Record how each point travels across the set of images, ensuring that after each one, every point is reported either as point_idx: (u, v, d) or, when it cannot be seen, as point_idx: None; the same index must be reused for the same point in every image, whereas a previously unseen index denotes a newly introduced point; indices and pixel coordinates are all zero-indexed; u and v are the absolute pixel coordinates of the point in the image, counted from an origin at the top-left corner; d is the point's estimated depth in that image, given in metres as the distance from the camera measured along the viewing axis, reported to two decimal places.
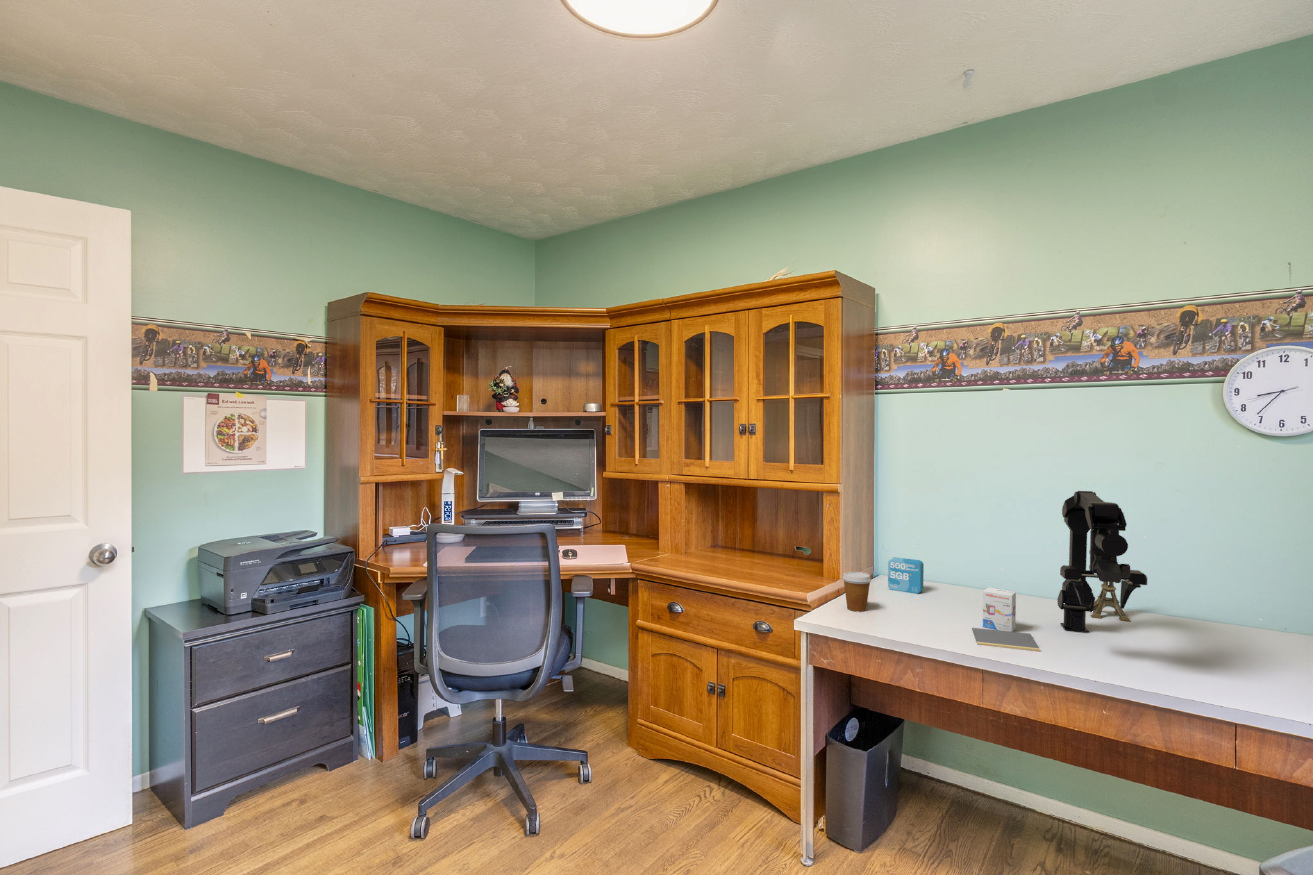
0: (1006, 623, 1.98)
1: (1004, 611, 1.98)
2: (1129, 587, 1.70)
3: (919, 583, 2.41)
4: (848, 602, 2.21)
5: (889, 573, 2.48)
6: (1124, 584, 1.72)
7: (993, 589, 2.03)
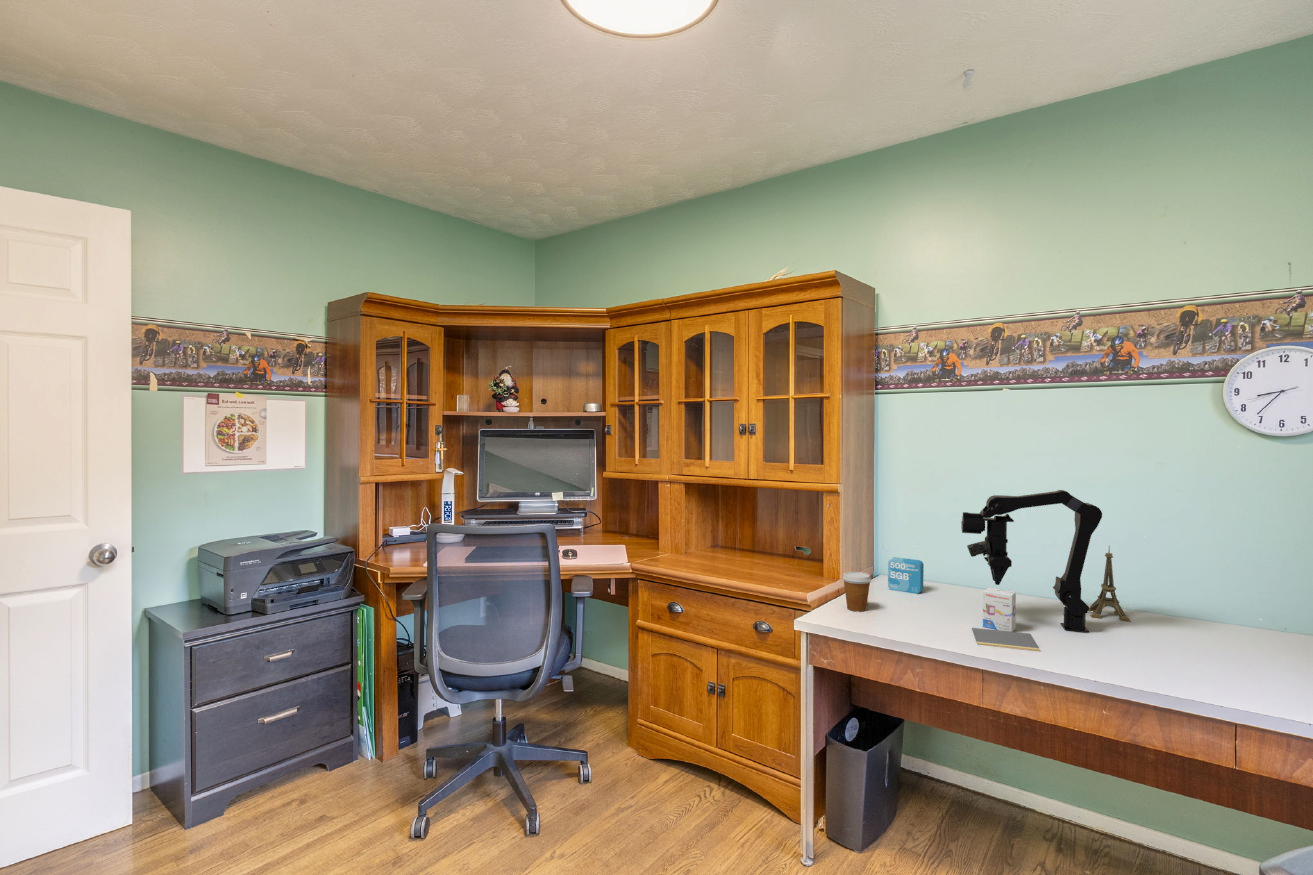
0: (1006, 623, 1.98)
1: (1004, 611, 1.98)
2: None
3: (919, 583, 2.41)
4: (848, 602, 2.21)
5: (889, 573, 2.47)
6: None
7: (993, 589, 2.03)
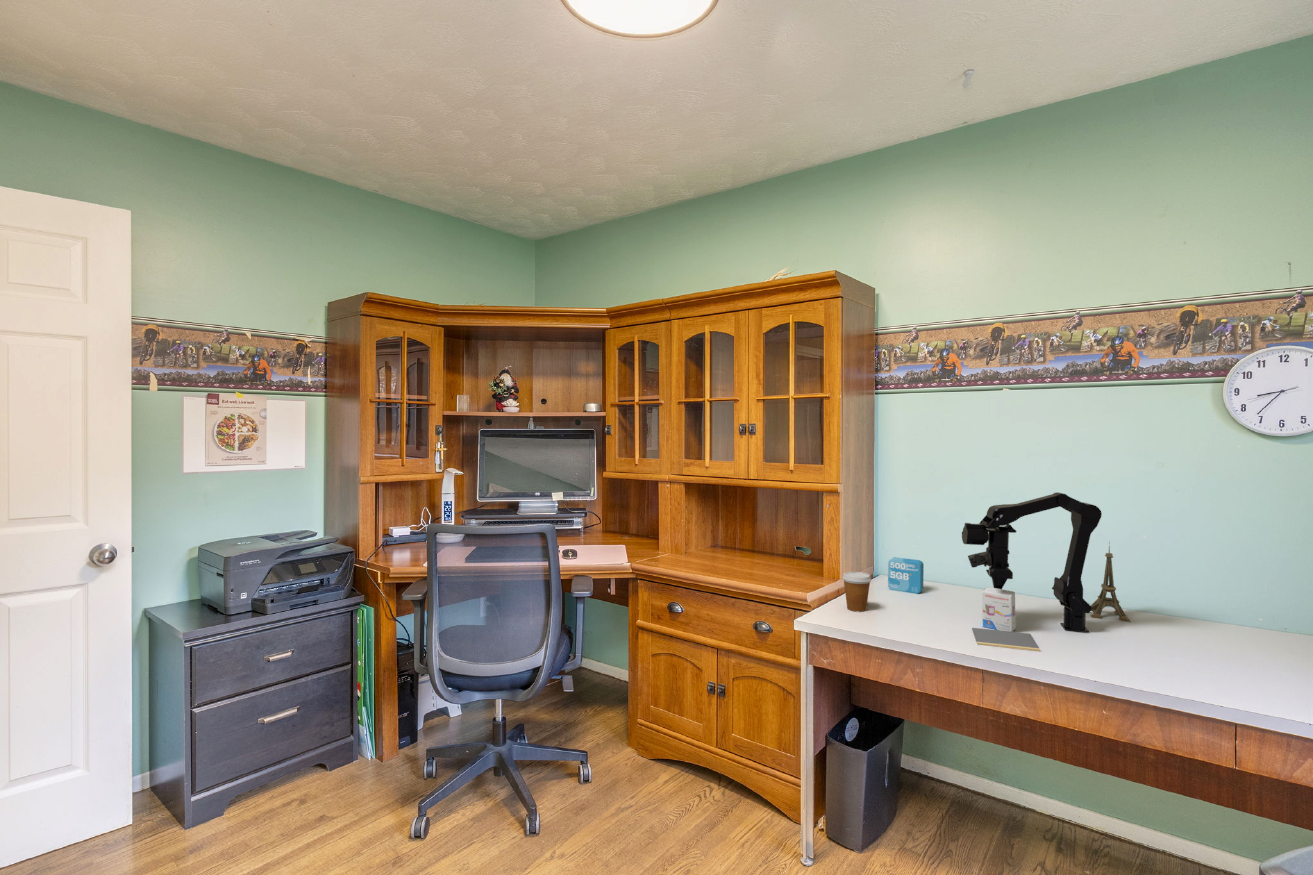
0: (1006, 623, 1.98)
1: (1004, 612, 1.98)
2: (988, 574, 2.04)
3: (919, 583, 2.41)
4: (848, 602, 2.21)
5: (889, 573, 2.48)
6: None
7: (992, 589, 2.02)
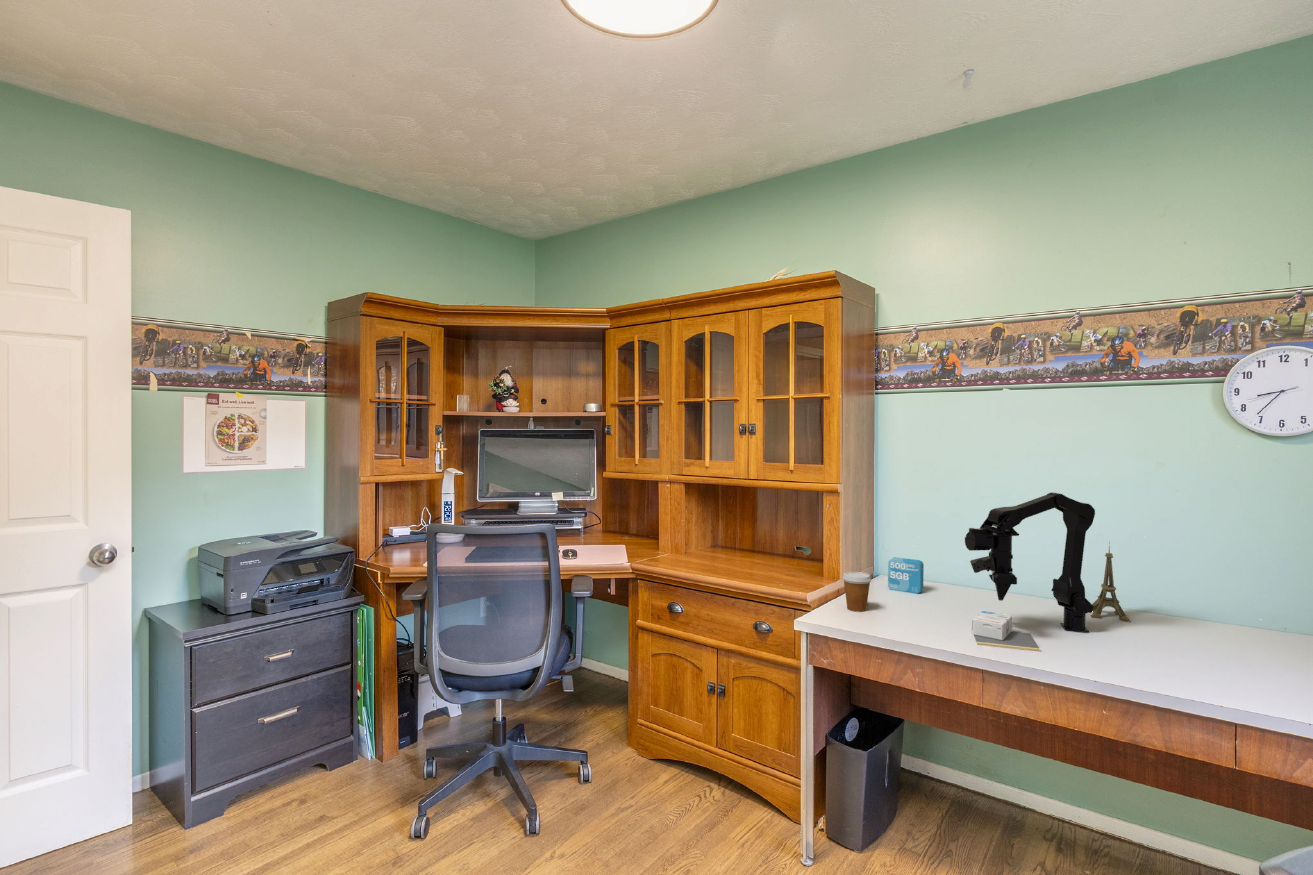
0: None
1: None
2: None
3: (919, 583, 2.41)
4: (848, 602, 2.21)
5: (889, 573, 2.48)
6: None
7: (980, 625, 1.92)
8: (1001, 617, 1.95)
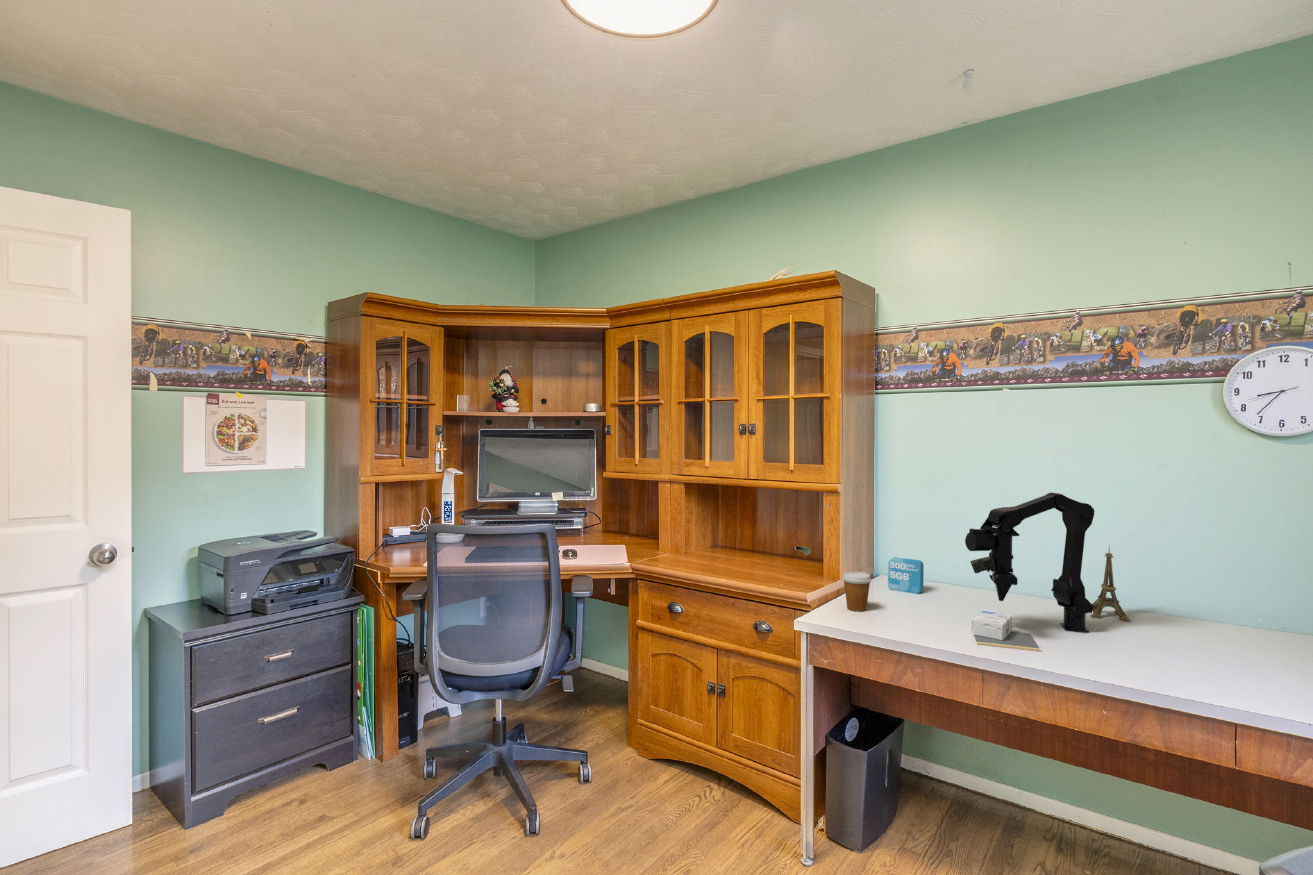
0: None
1: None
2: None
3: (919, 583, 2.41)
4: (848, 602, 2.21)
5: (889, 573, 2.47)
6: None
7: (980, 625, 1.92)
8: (1001, 617, 1.95)
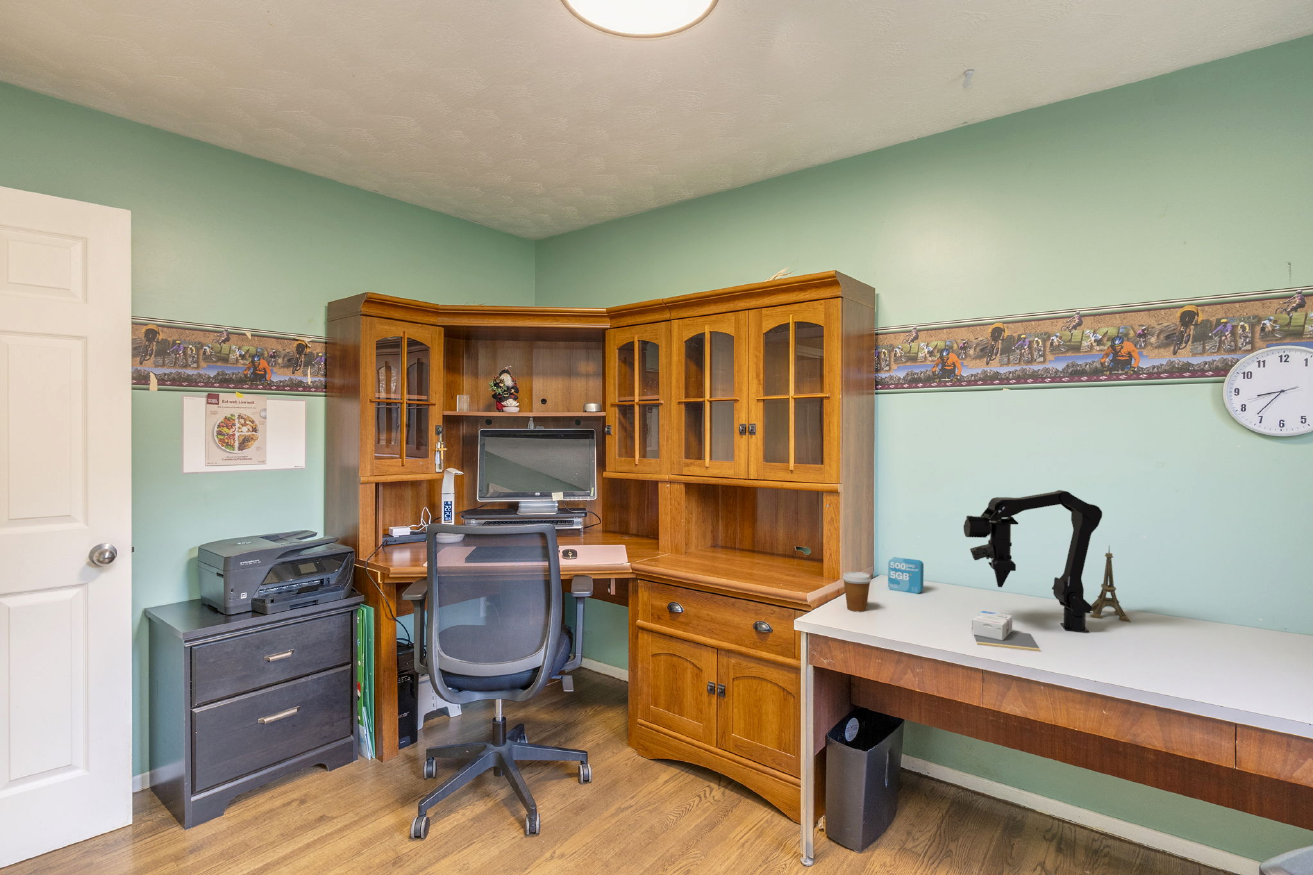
0: None
1: None
2: None
3: (919, 583, 2.41)
4: (848, 602, 2.21)
5: (889, 573, 2.47)
6: None
7: (980, 625, 1.92)
8: (1001, 617, 1.95)
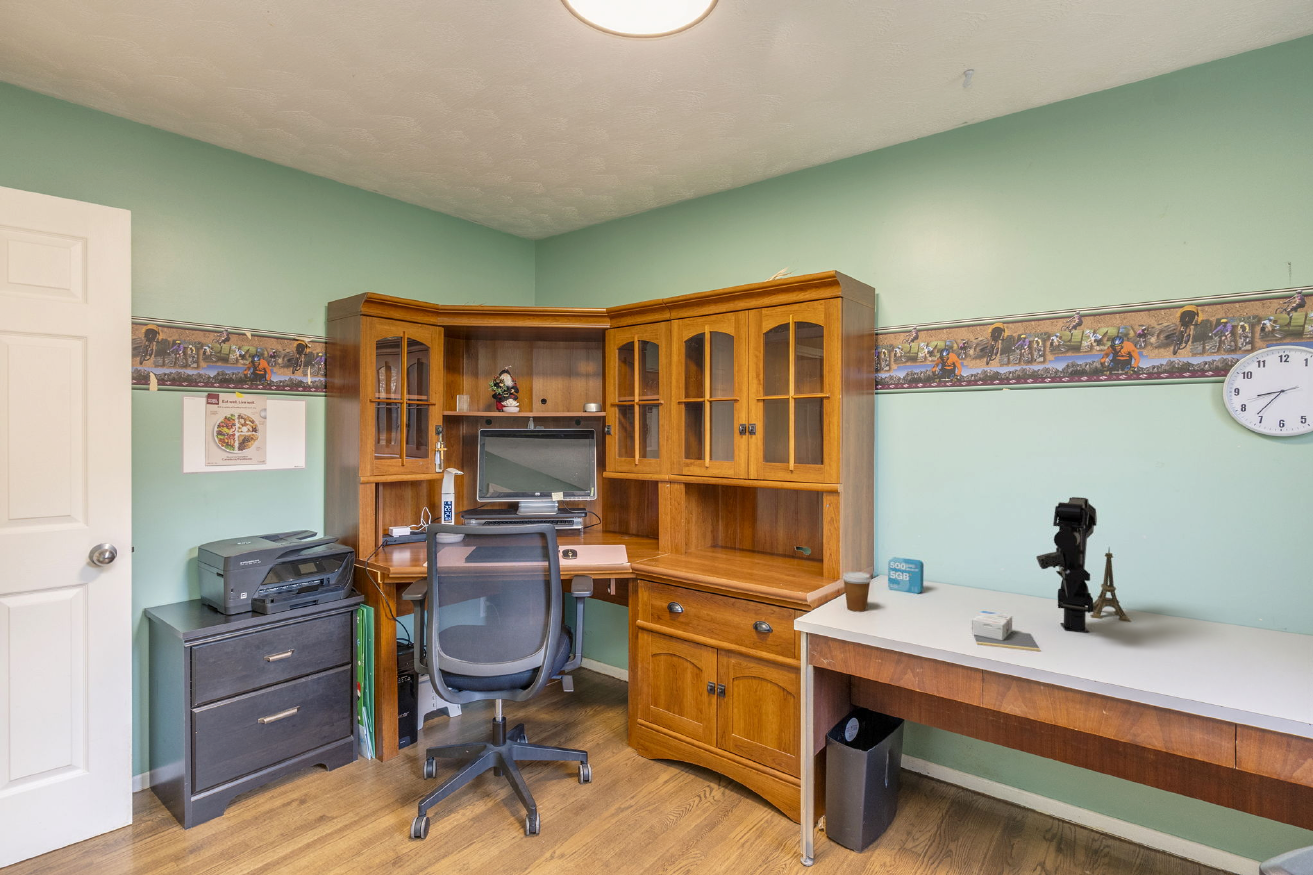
0: None
1: None
2: None
3: (919, 583, 2.41)
4: (848, 602, 2.21)
5: (889, 573, 2.47)
6: None
7: (980, 625, 1.92)
8: (1001, 617, 1.95)
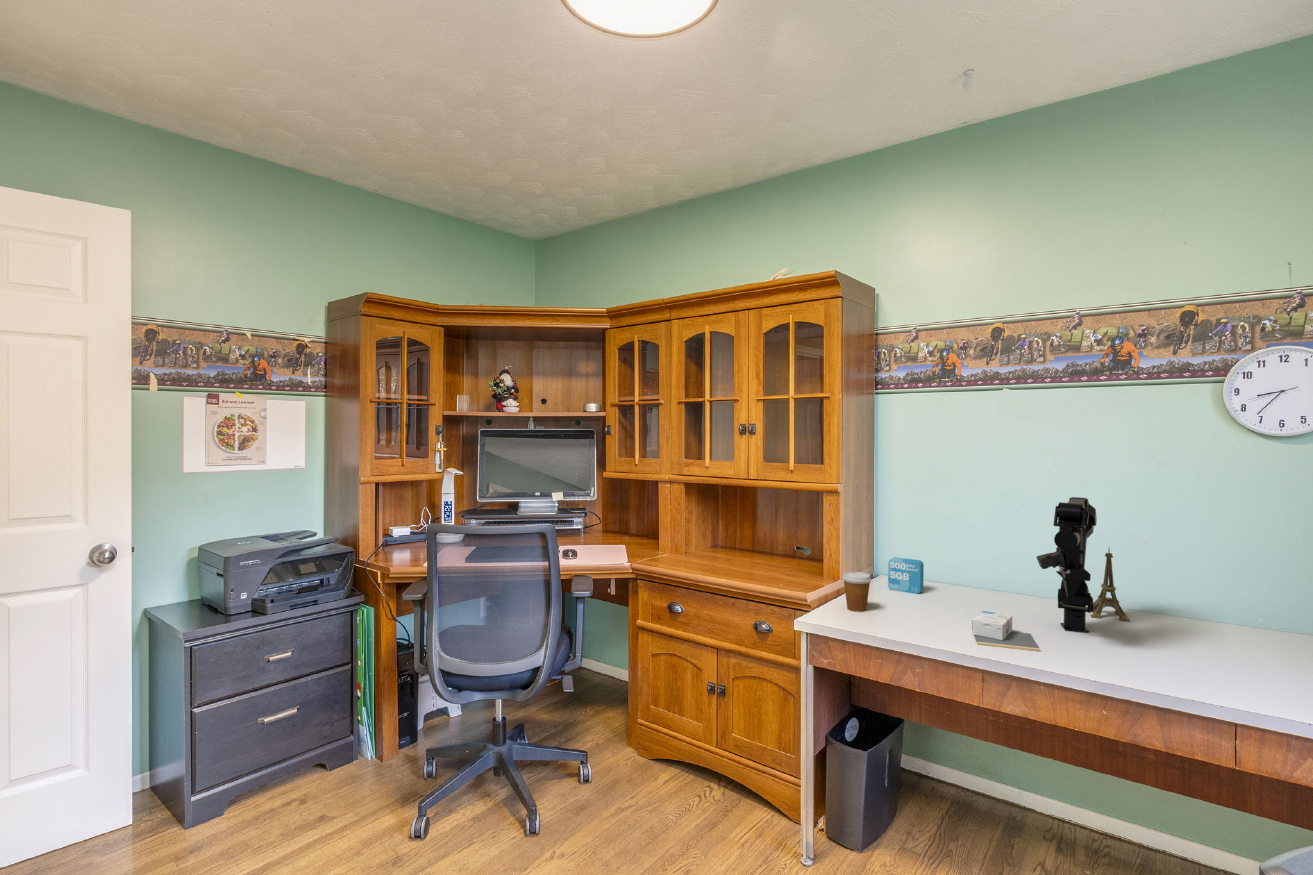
0: None
1: None
2: None
3: (919, 583, 2.41)
4: (848, 602, 2.21)
5: (889, 573, 2.47)
6: None
7: (980, 625, 1.92)
8: (1001, 617, 1.95)
